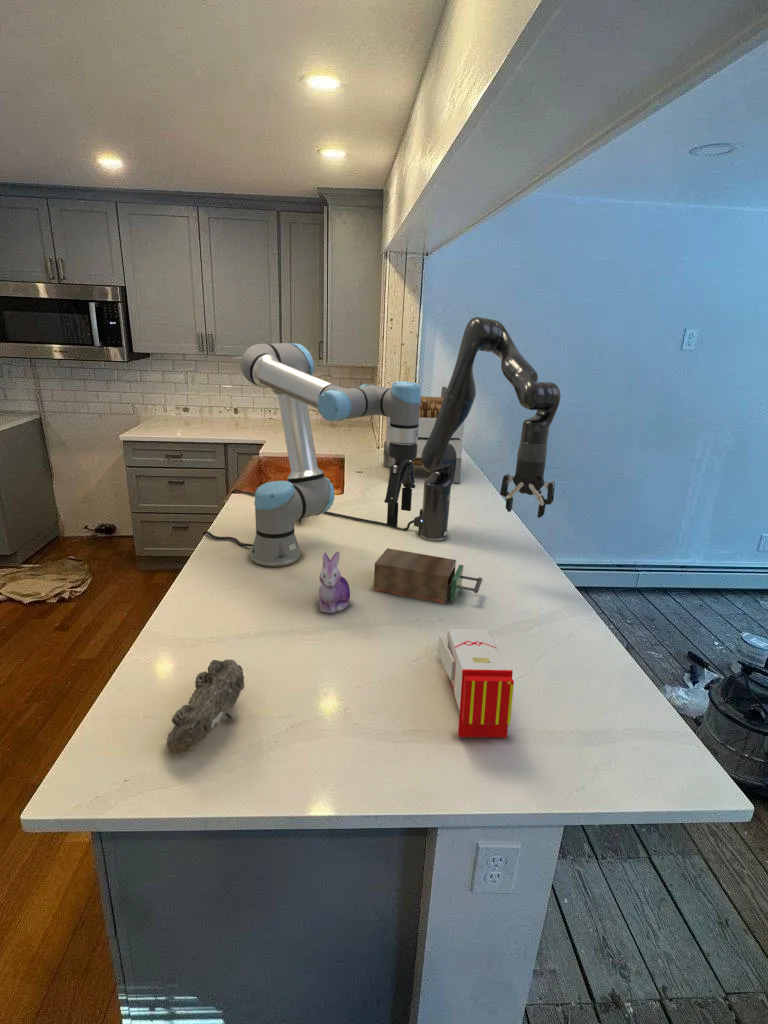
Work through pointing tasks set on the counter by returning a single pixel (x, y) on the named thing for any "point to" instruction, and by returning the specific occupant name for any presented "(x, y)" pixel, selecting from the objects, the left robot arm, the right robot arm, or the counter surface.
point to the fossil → (206, 705)
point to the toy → (478, 682)
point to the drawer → (457, 583)
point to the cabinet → (414, 575)
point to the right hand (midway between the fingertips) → (524, 514)
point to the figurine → (332, 586)
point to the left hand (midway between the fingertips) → (399, 517)
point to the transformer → (428, 432)
